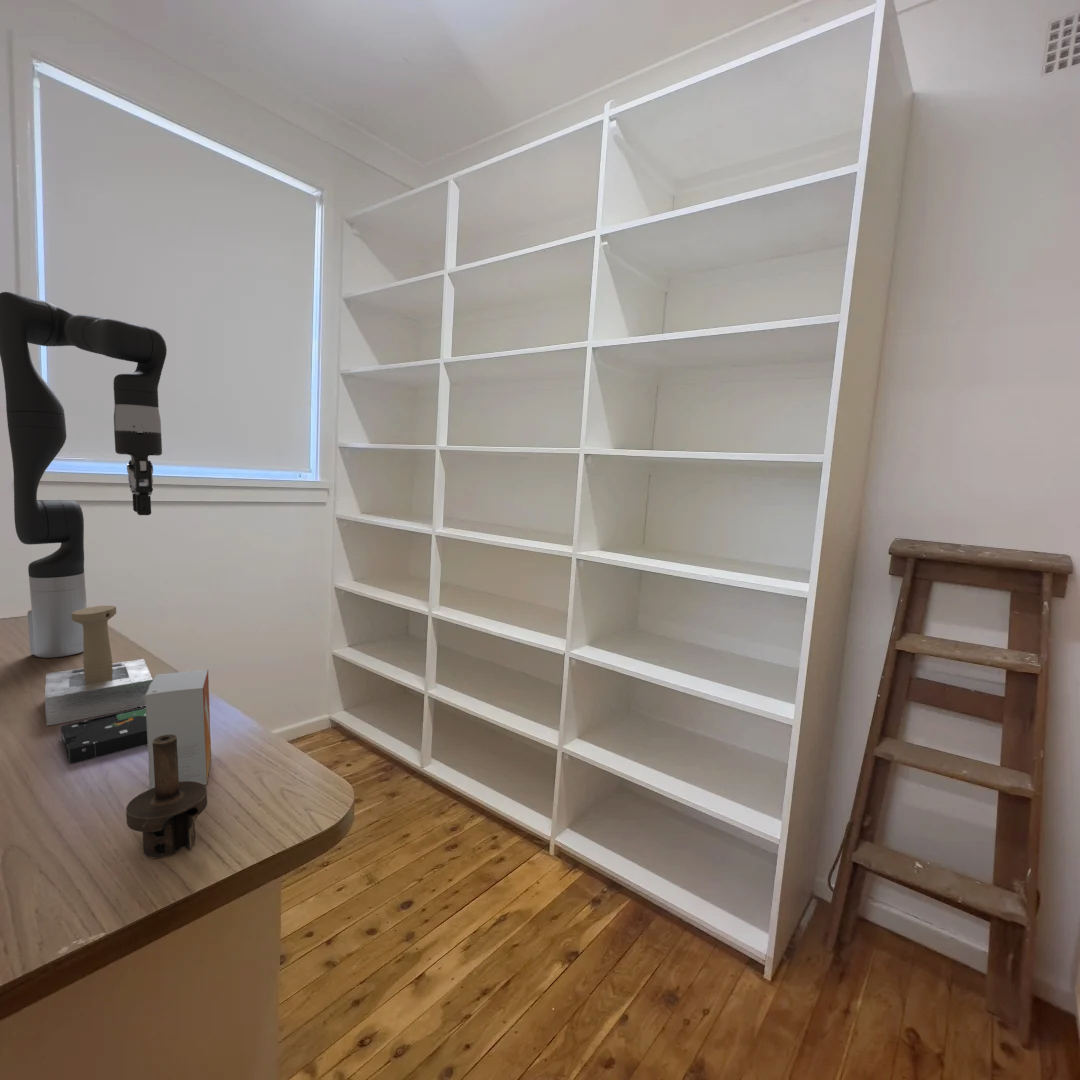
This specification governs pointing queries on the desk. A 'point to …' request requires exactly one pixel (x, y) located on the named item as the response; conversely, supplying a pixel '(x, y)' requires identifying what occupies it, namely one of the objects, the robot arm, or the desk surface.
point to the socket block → (95, 692)
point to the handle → (96, 642)
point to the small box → (181, 721)
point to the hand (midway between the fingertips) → (142, 513)
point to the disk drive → (104, 735)
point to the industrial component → (167, 805)
